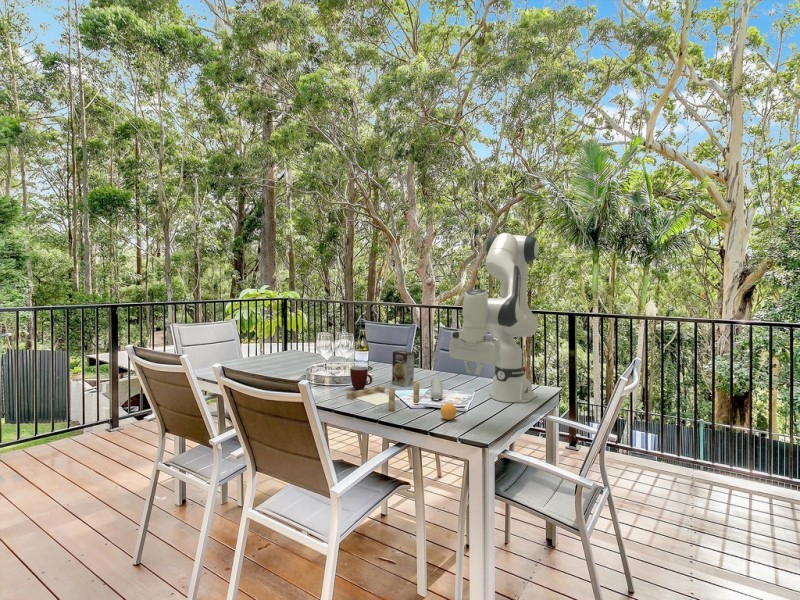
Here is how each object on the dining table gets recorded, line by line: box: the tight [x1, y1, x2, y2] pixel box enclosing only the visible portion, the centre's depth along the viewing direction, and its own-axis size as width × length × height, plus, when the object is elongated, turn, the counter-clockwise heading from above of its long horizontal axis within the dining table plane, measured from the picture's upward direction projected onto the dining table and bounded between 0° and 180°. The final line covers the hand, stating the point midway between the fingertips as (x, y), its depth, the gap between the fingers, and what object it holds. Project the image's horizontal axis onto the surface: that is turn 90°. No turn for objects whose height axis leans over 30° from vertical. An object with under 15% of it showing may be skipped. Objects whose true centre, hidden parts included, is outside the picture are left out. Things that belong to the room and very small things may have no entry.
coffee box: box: [391, 350, 415, 388], centre depth 225 cm, size 9×6×16 cm
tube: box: [430, 377, 443, 400], centre depth 209 cm, size 5×5×25 cm
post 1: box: [388, 386, 396, 412], centre depth 182 cm, size 2×2×9 cm
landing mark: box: [355, 392, 401, 406], centre depth 199 cm, size 14×14×1 cm
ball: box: [440, 402, 457, 421], centre depth 172 cm, size 6×6×6 cm
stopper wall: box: [346, 385, 386, 400], centre depth 204 cm, size 20×2×2 cm, turn 134°
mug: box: [349, 366, 373, 391], centre depth 214 cm, size 10×8×10 cm
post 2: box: [412, 381, 420, 403], centre depth 192 cm, size 2×2×9 cm
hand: (473, 373), depth 163 cm, fingers closed
